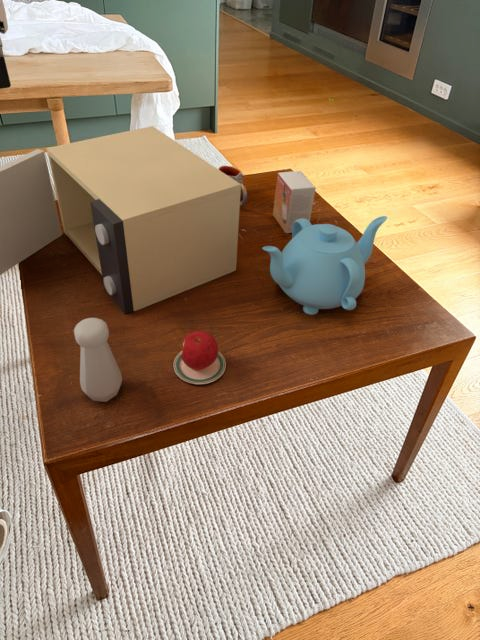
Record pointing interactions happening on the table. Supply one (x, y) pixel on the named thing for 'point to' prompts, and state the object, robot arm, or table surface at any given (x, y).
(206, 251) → the microwave
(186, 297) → the table surface
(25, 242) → the microwave door
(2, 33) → the robot arm
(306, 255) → the teapot
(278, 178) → the small box
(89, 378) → the salt shaker
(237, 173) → the mug
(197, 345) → the apple
